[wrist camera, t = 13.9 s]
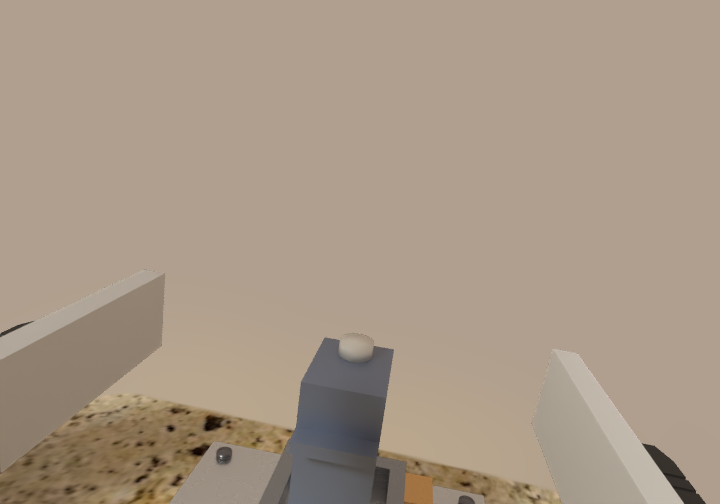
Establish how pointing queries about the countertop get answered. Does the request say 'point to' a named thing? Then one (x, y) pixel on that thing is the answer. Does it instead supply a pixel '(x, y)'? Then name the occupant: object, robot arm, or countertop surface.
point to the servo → (339, 422)
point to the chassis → (273, 474)
